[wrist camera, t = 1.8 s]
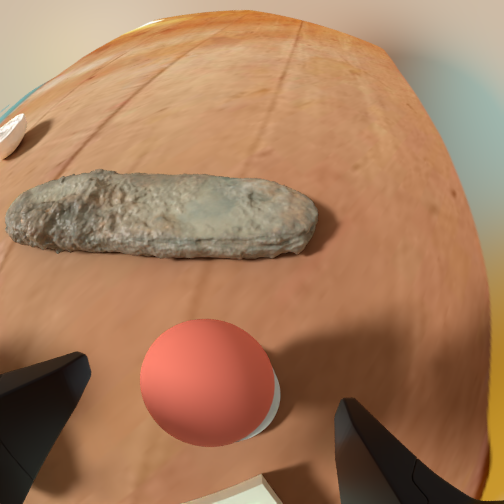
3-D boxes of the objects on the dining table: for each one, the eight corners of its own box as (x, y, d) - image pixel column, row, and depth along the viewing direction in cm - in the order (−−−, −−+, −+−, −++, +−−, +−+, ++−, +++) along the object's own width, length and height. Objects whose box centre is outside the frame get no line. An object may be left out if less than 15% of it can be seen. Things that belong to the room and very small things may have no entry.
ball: (291, 407, 10) (313, 408, 6) (193, 454, 9) (158, 478, 5) (238, 320, 12) (229, 272, 8) (148, 363, 11) (97, 336, 7)
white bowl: (42, 126, 38) (30, 100, 33) (8, 168, 32) (-8, 140, 26) (16, 134, 39) (5, 112, 33) (-14, 173, 33) (-29, 150, 27)
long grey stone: (313, 292, 22) (307, 203, 28) (332, 255, 18) (318, 163, 23) (-1, 255, 22) (34, 194, 28) (-24, 227, 18) (18, 164, 23)
